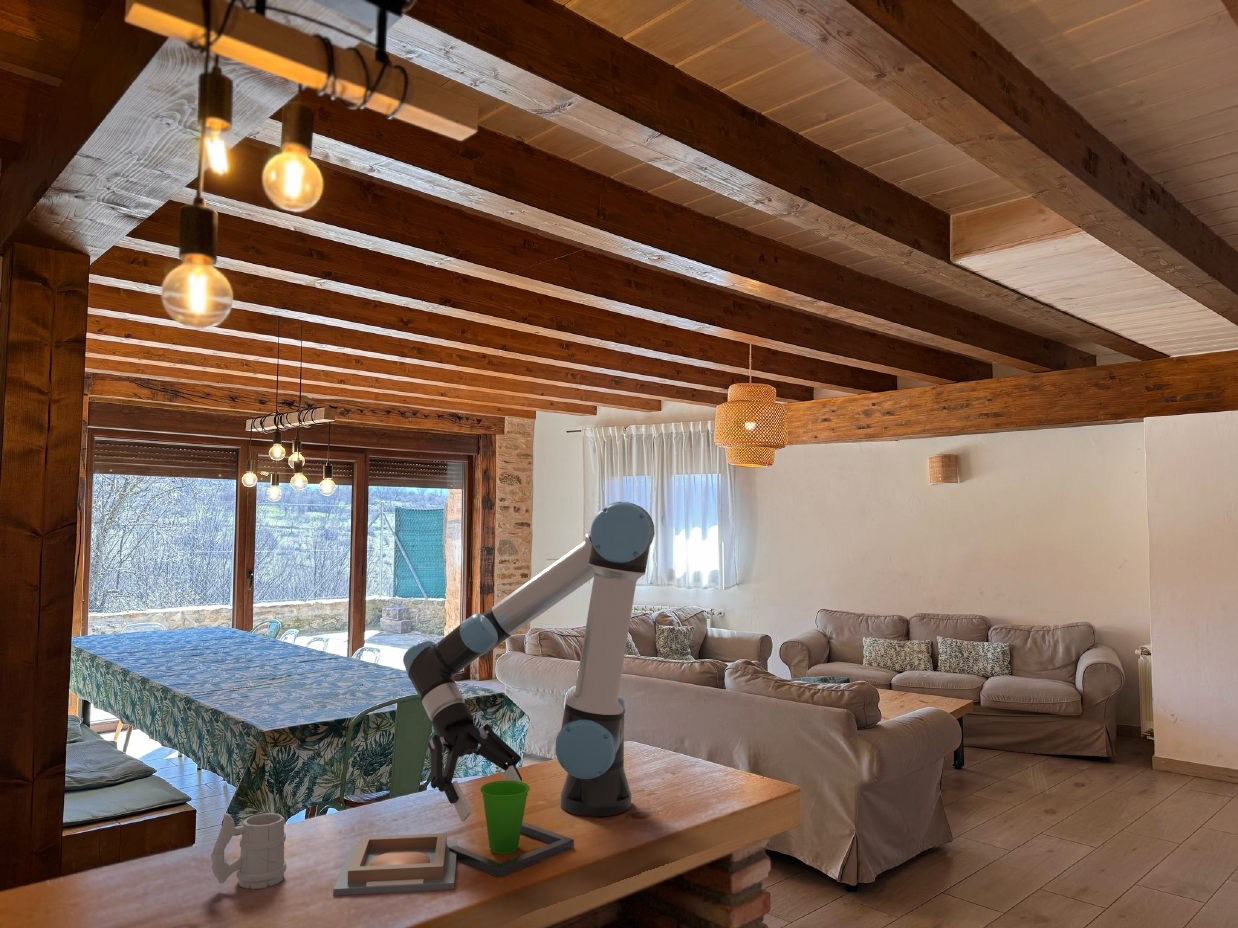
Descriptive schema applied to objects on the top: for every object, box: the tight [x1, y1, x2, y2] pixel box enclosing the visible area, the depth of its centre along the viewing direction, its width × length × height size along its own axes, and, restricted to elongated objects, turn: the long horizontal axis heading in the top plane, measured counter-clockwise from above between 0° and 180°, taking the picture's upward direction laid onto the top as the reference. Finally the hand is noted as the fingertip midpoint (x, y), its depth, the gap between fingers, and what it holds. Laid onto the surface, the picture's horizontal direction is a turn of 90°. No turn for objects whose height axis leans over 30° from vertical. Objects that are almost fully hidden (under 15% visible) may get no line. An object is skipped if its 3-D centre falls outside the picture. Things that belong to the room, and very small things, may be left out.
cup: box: [480, 780, 531, 855], centre depth 157 cm, size 9×9×11 cm
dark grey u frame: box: [449, 821, 575, 878], centre depth 156 cm, size 14×18×2 cm
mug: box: [210, 812, 288, 890], centre depth 141 cm, size 8×12×12 cm, turn 131°
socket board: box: [332, 832, 458, 896], centre depth 147 cm, size 19×19×3 cm
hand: (496, 807), depth 158 cm, fingers open, 13 cm apart
